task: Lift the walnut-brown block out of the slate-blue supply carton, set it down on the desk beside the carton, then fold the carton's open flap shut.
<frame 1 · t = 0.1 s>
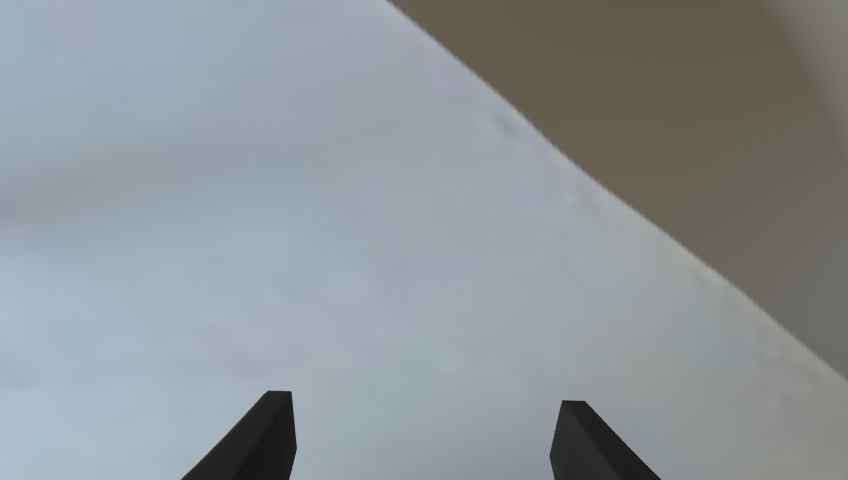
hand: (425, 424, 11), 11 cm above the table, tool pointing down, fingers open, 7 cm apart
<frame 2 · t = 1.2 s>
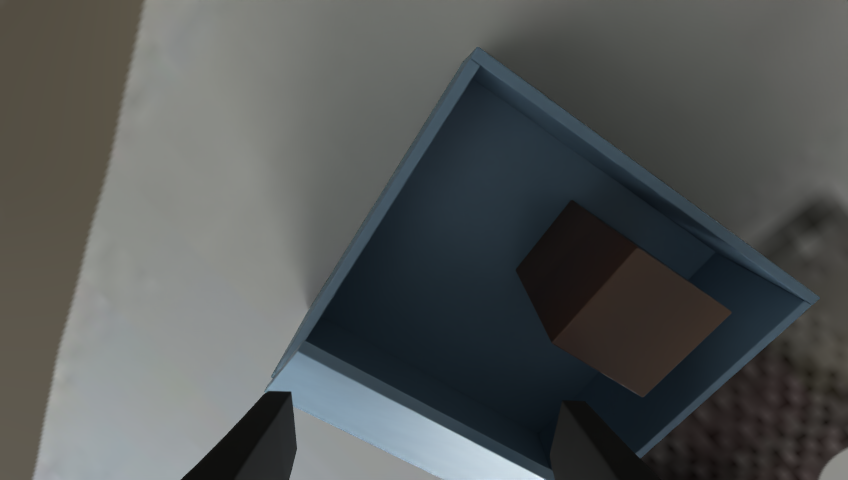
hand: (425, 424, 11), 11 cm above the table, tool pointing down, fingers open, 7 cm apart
flap: (475, 469, 14), point 8 cm above the table, hinge at 35.5°
carton: (506, 280, 21), on the table
walnut block: (576, 258, 20), resting on carton
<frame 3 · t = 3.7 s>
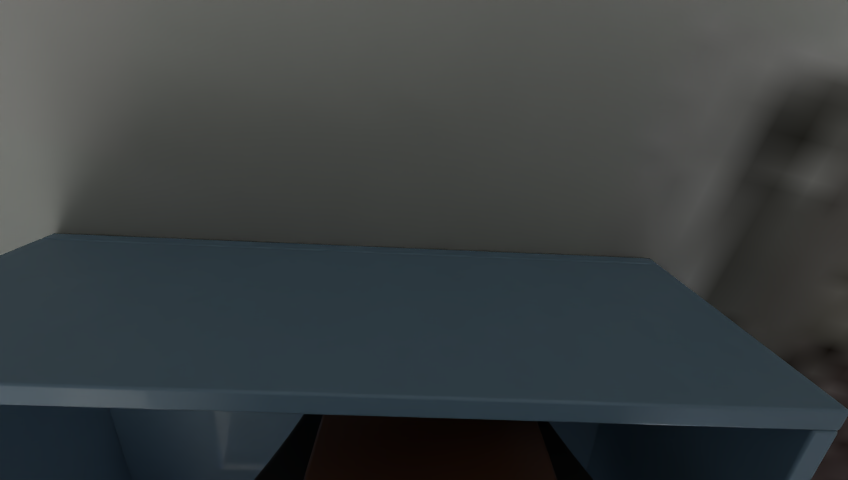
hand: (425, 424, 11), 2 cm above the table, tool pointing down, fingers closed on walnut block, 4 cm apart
carton: (360, 449, 13), on the table
walnut block: (424, 389, 12), resting on carton, touching gripper
when the fingers open (1 cm above the table, at t = 8.4 s): walnut block stays where it is, on the table.
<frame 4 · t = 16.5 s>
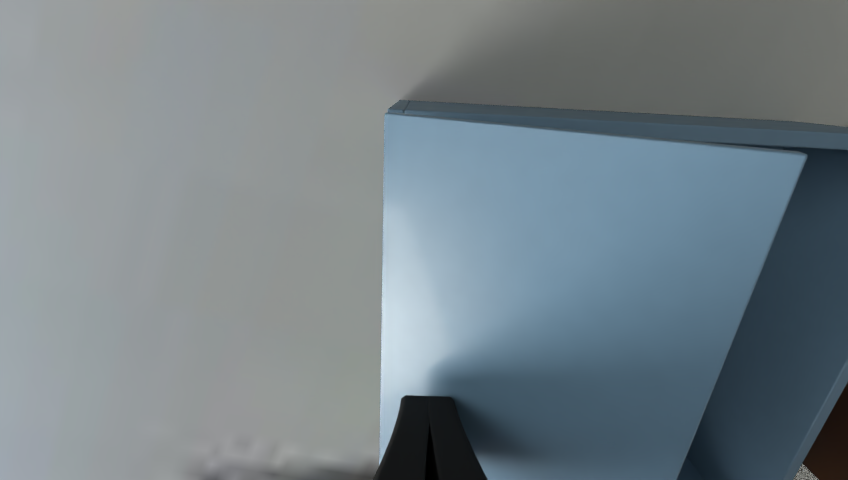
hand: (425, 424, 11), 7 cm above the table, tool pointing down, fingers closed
flap: (499, 443, 10), point 8 cm above the table, hinge at 29.8°
carton: (560, 297, 18), on the table
walnut block: (810, 379, 19), on the table
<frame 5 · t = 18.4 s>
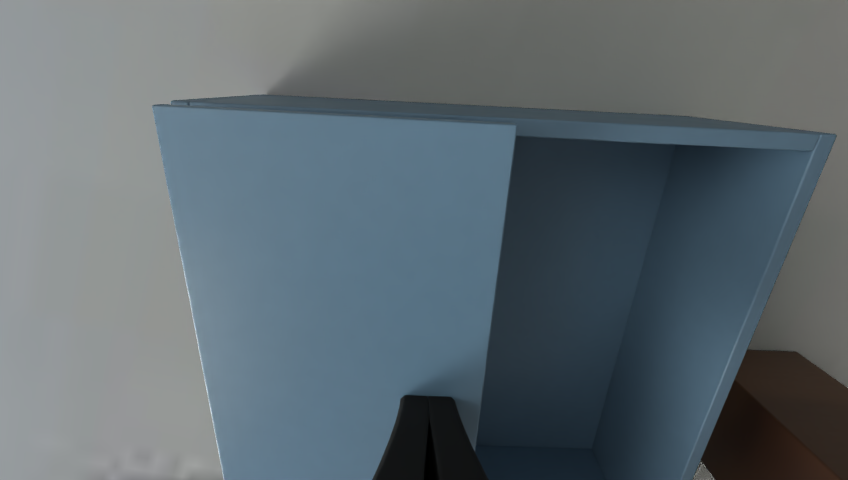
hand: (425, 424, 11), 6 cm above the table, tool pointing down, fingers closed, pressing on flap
flap: (344, 414, 11), point 6 cm above the table, hinge at 2.4°, touching gripper
carton: (459, 303, 17), on the table
walnut block: (732, 388, 18), on the table
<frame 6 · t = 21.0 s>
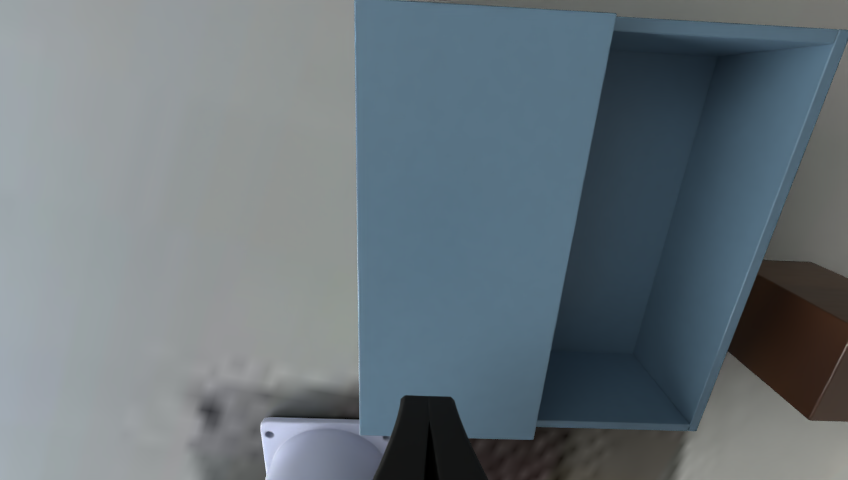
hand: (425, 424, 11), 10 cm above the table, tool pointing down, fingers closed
flap: (462, 264, 14), point 6 cm above the table, hinge at -0.1°
carton: (524, 216, 19), on the table
walnut block: (755, 297, 21), on the table
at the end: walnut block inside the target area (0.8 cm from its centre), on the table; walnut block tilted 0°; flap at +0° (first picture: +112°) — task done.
